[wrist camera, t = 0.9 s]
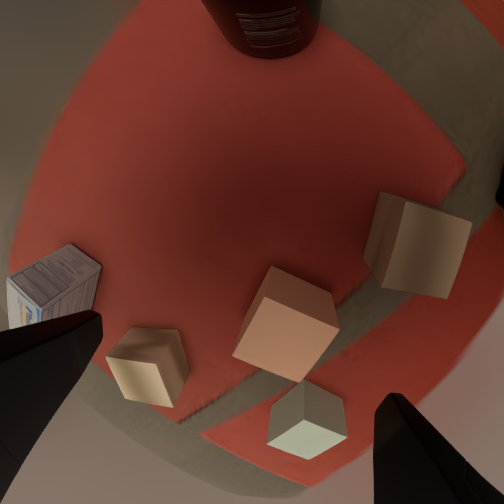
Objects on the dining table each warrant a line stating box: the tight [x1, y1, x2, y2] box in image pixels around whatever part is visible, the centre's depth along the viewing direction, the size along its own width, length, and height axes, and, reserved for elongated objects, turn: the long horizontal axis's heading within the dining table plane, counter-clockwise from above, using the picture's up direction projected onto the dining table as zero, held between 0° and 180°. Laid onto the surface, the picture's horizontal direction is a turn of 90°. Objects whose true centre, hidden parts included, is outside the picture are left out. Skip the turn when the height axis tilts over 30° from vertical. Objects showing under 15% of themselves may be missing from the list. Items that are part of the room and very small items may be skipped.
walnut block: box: [363, 191, 472, 299], centre depth 16 cm, size 5×5×5 cm
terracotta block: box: [232, 265, 340, 383], centre depth 19 cm, size 5×5×5 cm
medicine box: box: [7, 244, 102, 329], centre depth 20 cm, size 8×4×9 cm, turn 151°
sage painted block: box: [266, 379, 347, 460], centre depth 22 cm, size 5×5×5 cm
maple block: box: [105, 327, 190, 408], centre depth 22 cm, size 5×5×5 cm
